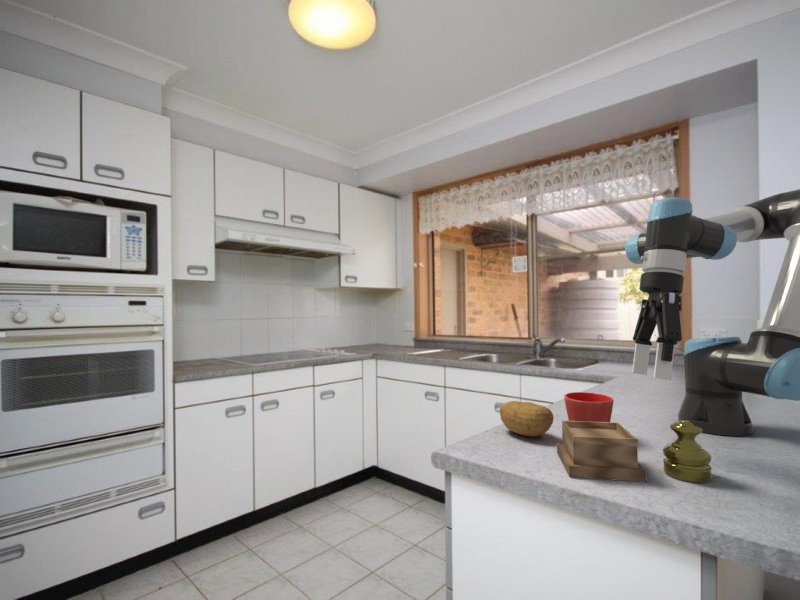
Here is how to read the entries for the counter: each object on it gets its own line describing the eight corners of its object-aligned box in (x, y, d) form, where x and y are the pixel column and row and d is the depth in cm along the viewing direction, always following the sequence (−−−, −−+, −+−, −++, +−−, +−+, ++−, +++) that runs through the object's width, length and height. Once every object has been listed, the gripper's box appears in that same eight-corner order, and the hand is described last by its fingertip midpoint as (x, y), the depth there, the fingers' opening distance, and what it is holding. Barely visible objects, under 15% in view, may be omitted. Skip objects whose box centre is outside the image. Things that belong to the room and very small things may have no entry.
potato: (514, 425, 110) (514, 395, 110) (562, 438, 98) (561, 404, 99) (489, 431, 104) (489, 400, 104) (537, 446, 93) (536, 411, 93)
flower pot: (620, 445, 93) (620, 402, 93) (569, 442, 95) (568, 400, 95) (607, 431, 103) (606, 392, 103) (561, 429, 106) (560, 391, 106)
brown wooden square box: (622, 455, 86) (621, 421, 86) (646, 481, 74) (645, 441, 74) (556, 452, 89) (556, 418, 89) (569, 476, 76) (568, 437, 76)
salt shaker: (719, 477, 75) (717, 422, 75) (700, 487, 71) (699, 429, 71) (675, 464, 81) (673, 414, 82) (655, 473, 77) (654, 419, 78)
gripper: (625, 280, 98) (614, 369, 96) (664, 259, 74) (650, 377, 72) (660, 284, 96) (649, 375, 94) (712, 264, 72) (698, 385, 70)
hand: (649, 376), depth 83 cm, fingers open, 13 cm apart
